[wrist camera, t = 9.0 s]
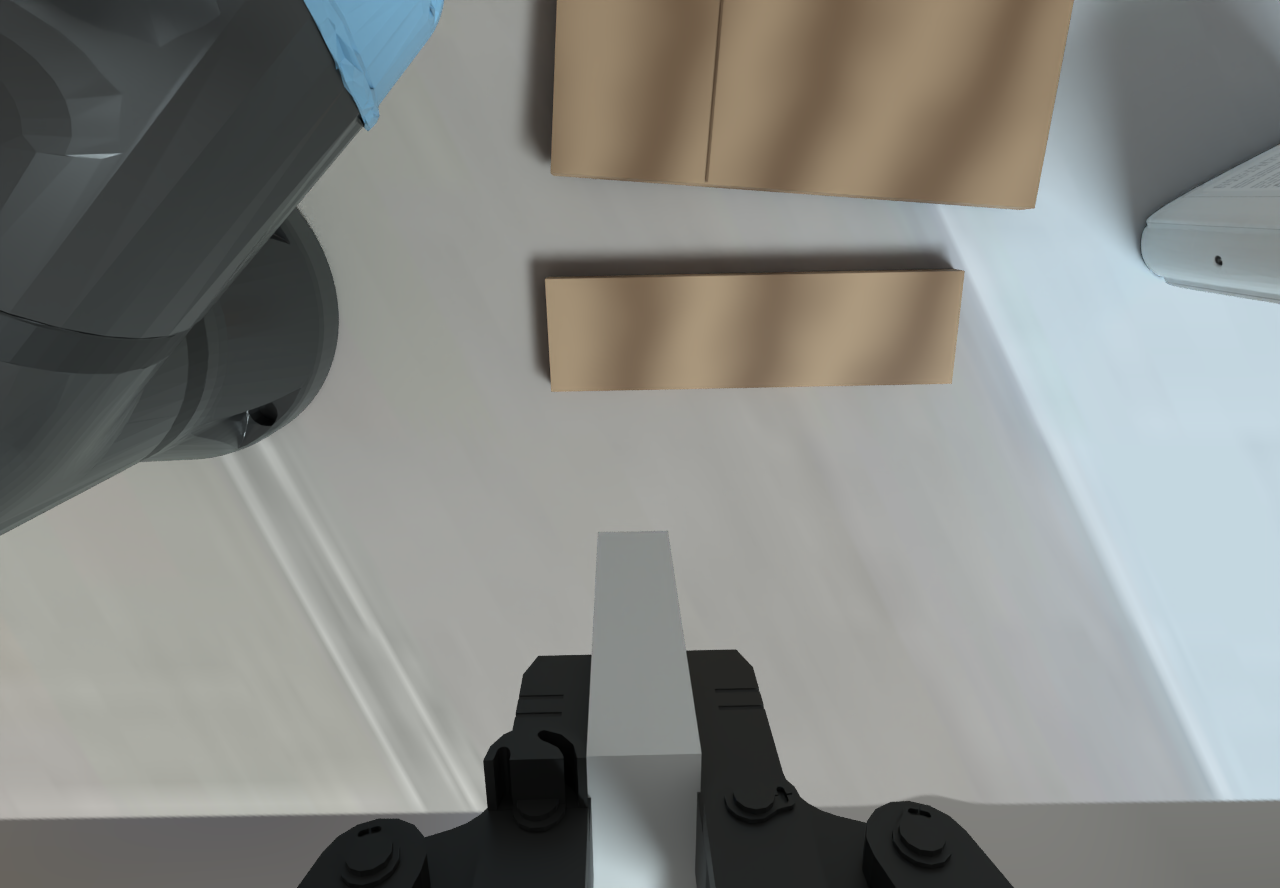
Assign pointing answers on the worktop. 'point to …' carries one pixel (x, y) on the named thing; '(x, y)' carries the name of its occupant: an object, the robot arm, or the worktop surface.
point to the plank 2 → (753, 329)
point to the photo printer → (1222, 233)
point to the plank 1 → (811, 95)
